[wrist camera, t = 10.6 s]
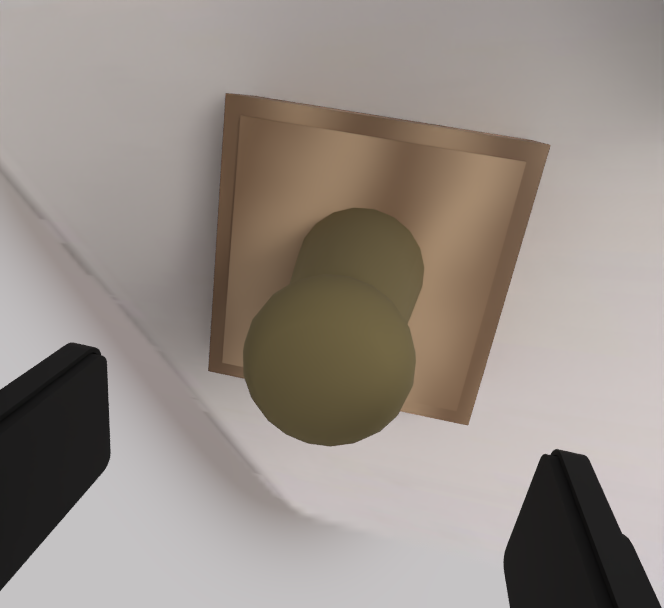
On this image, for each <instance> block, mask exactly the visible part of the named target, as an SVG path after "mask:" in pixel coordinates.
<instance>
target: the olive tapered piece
mask: <svg viewBox="0 0 664 608" xmlns="http://www.w3.org/2000/svg"><path fill="white" fill-rule="evenodd" d="M423 276H424V263H423V259H422V254H421V249H420V247H419V245H418V244H417V242H416V240H415V239H414V237H413V235H412V234H411V232H410V230H408V229H407V228H406V227H405V226H404V225H402V224H401V223H400V222H399V221H398V220H397V219H395V218H394V217H392V216H390V215H388V214H385V213H383V212H380V211H378V210H375V209H367V208H349V209H345V210H341V211H337V212H333V213H332V214H330V215H329V216H327V217H325V218H324V219H322V220H321V221H319V222H318V223H316V224H315V226H314V227H313V228H312V229H311V231H310V232H309V233H308V234H307V236H306V237H305V238H304V240H303V243H302V246H301V249H300V251H299V254H298V257H297V260H296V264H295V267H294V270H293V274H292V277H291V280H290V284H289V285H288V286H286V287H284V288H282V289H281V290H279V291H277V292H276V293H274V294H273V295H272V296H271V297H270V299H269V300H268V301H267V302H266V304H265V305H264V306H263V307H262V308H261V310H260V311H259V312H258V313H257V314H256V316H255V317H254V318H253V319H252V322H251V325H250V328H249V331H248V333H247V336H246V339H245V342H244V348H243V375H244V378H245V381H246V383H247V386H248V389H249V392H250V395H251V397H252V399H253V401H254V402H255V404H256V405H257V406H258V408H259V409H260V410H261V412H262V413H263V414H264V416H265V417H266V418H267V420H268V421H269V422H271V423H272V424H273V425H275V426H276V427H277V428H279V429H280V430H281V431H282V432H284V433H285V434H286V435H289V436H291V437H294V438H296V439H298V440H301V441H303V442H306V443H309V444H317V445H324V446H337V445H344V444H351V443H355V442H358V441H360V440H362V439H365V438H367V437H369V436H371V435H373V434H375V433H378V432H380V431H381V430H382V429H383V428H384V427H385V426H387V425H388V424H389V423H390V422H391V421H392V420H393V419H394V418H395V417H396V416H397V415H398V414H399V412H400V410H401V408H402V406H403V404H404V402H405V400H406V399H407V397H408V395H409V393H410V391H411V389H412V387H413V382H414V374H415V365H416V352H415V348H414V344H413V339H412V335H411V331H410V328H409V326H408V322H409V320H410V317H411V314H412V312H413V309H414V307H415V304H416V302H417V299H418V296H419V294H420V291H421V289H422V284H423Z"/></svg>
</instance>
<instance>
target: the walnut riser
mask: <svg viewBox="0 0 664 608" xmlns="http://www.w3.org/2000/svg"><path fill="white" fill-rule="evenodd" d="M549 149H550V145H548V144H544V143H540V142H536V141H532V140H527V139H521V138H515V137H509V136H502V135H496V134H490V133H484V132H477V131H471V130H465V129H458V128H452V127H446V126H440V125H433V124H427V123H421V122H415V121H408V120H402V119H396V118H389V117H383V116H377V115H371V114H364V113H358V112H352V111H346V110H339V109H333V108H327V107H320V106H314V105H308V104H302V103H295V102H289V101H283V100H277V99H270V98H264V97H258V96H251V95H240V94H229V93H226V97H225V113H224V128H223V144H222V160H221V176H220V192H219V208H218V224H217V240H216V256H215V272H214V288H213V304H212V320H211V336H210V352H209V368H208V371H210V372H215V373H220V374H225V375H230V376H234V377H239V378H244V375H243V348H244V342H245V339H246V336H247V333H248V331H249V328H250V325H251V322H252V319H253V318H254V317H255V316H256V314H257V313H258V312H259V311H260V310H261V308H262V307H263V306H264V305H265V304H266V302H267V301H268V300H269V299H270V297H271V296H272V295H273V294H274V293H276V292H277V291H279V290H281V289H282V288H284V287H286V286H288V285H289V284H290V280H291V277H292V274H293V270H294V267H295V264H296V260H297V257H298V254H299V251H300V249H301V246H302V243H303V240H304V238H305V237H306V236H307V234H308V233H309V232H310V231H311V229H312V228H313V227H314V226H315V224H316V223H318V222H319V221H321V220H322V219H324V218H325V217H327V216H329V215H330V214H332V213H333V212H337V211H341V210H345V209H349V208H367V209H375V210H378V211H380V212H383V213H385V214H388V215H390V216H392V217H394V218H395V219H397V220H398V221H399V222H400V223H401V224H402V225H404V226H405V227H406V228H407V229H408V230H410V232H411V234H412V235H413V237H414V239H415V240H416V242H417V244H418V245H419V247H420V249H421V254H422V259H423V263H424V276H423V284H422V289H421V291H420V294H419V296H418V299H417V302H416V304H415V307H414V309H413V312H412V314H411V317H410V320H409V322H408V326H409V328H410V331H411V335H412V339H413V344H414V348H415V352H416V365H415V374H414V382H413V387H412V389H411V391H410V393H409V395H408V397H407V399H406V400H405V402H404V404H403V406H402V408H401V410H400V411H402V412H406V413H411V414H416V415H421V416H426V417H430V418H435V419H440V420H445V421H449V422H454V423H459V424H464V425H468V424H469V421H470V417H471V414H472V410H473V407H474V404H475V400H476V397H477V393H478V390H479V387H480V383H481V380H482V376H483V373H484V370H485V366H486V363H487V359H488V356H489V353H490V349H491V346H492V342H493V339H494V336H495V332H496V329H497V325H498V322H499V319H500V315H501V312H502V308H503V305H504V302H505V298H506V295H507V291H508V288H509V285H510V281H511V278H512V274H513V271H514V268H515V264H516V261H517V257H518V254H519V251H520V247H521V244H522V240H523V237H524V234H525V230H526V227H527V224H528V220H529V217H530V213H531V210H532V207H533V203H534V200H535V196H536V193H537V190H538V186H539V183H540V179H541V176H542V173H543V169H544V166H545V162H546V159H547V156H548V152H549ZM244 379H245V378H244Z"/></svg>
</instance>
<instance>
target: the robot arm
mask: <svg viewBox="0 0 664 608" xmlns="http://www.w3.org/2000/svg"><path fill="white" fill-rule="evenodd" d="M109 459H110V428H109V403H108V378H107V361H106V358H105V357H104V356H101V353H100V351H99V349H97V348H95V347H91V346H86V345H81V344H77V343H68V344H66V345H65V346H63V347H62V348H60V349H59V350H57V351H56V352H55V353H53V354H52V355H50V356H49V357H47V358H46V359H44V360H43V361H41V362H40V363H39V364H37V365H36V366H34V367H33V368H31V369H30V370H28V371H27V372H26V373H24V374H23V375H21V376H20V377H18V378H17V379H15V380H14V381H12V382H11V383H9V384H8V385H7V386H5V387H4V388H2V389H1V390H0V591H1V589H2V588H3V587H4V586H5V585H6V584H7V582H8V581H9V580H10V579H11V578H12V577H13V576H14V574H15V573H16V572H17V571H18V570H19V569H20V567H21V566H22V565H23V564H24V563H25V562H26V561H27V559H28V558H29V557H30V556H31V555H32V553H33V552H34V551H35V550H36V549H37V548H38V547H39V545H40V544H41V543H42V542H43V541H44V540H45V539H46V537H47V536H48V535H49V534H50V533H51V531H52V530H53V529H54V528H55V527H56V526H57V524H58V523H59V522H60V521H61V520H62V519H63V518H64V517H65V515H66V514H67V513H68V512H69V511H70V510H71V508H72V507H73V506H74V505H75V503H77V501H78V500H79V499H80V498H81V497H82V496H83V495H84V493H85V492H86V491H87V490H88V489H89V488H90V486H91V485H92V484H93V483H94V482H95V481H96V479H97V478H98V477H99V476H100V475H101V474H102V472H103V471H104V470H105V469H106V467H107V465H108V462H109ZM504 573H505V580H506V586H507V592H508V598H509V604H510V608H661V606H660V603H659V601H658V599H657V597H656V595H655V592H654V590H653V588H652V586H651V584H650V582H649V579H648V577H647V575H646V573H645V571H644V568H643V566H642V564H641V562H640V560H639V558H638V555H637V553H636V551H635V549H634V547H633V545H632V543H631V542H630V540H629V538H627V537H626V536H625V535H624V534H622V532H621V530H620V528H619V526H618V524H617V521H616V519H615V517H614V515H613V512H612V510H611V508H610V506H609V503H608V501H607V499H606V497H605V494H604V492H603V490H602V488H601V485H600V483H599V481H598V479H597V476H596V474H595V472H594V470H593V467H592V465H591V463H590V461H589V459H588V457H587V456H585V455H581V454H577V453H572V452H568V451H563V450H559V449H555V450H554V451H553V452H552V453H551V455H547V454H543V455H542V457H541V459H540V461H539V463H538V466H537V469H536V471H535V474H534V476H533V479H532V482H531V484H530V487H529V490H528V492H527V495H526V497H525V500H524V503H523V505H522V508H521V510H520V513H519V516H518V518H517V521H516V523H515V526H514V529H513V531H512V534H511V536H510V539H509V542H508V544H507V547H506V550H505V554H504Z"/></svg>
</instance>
